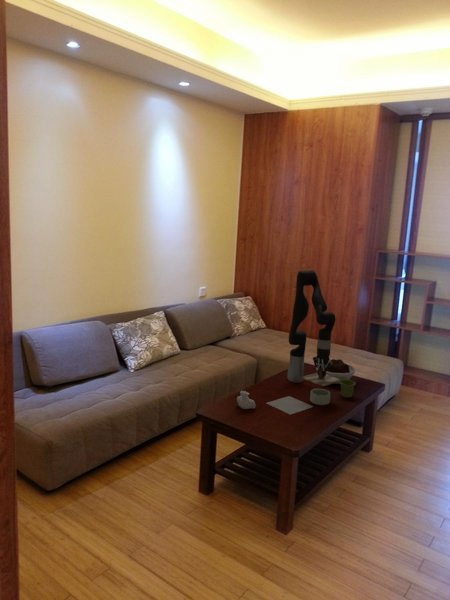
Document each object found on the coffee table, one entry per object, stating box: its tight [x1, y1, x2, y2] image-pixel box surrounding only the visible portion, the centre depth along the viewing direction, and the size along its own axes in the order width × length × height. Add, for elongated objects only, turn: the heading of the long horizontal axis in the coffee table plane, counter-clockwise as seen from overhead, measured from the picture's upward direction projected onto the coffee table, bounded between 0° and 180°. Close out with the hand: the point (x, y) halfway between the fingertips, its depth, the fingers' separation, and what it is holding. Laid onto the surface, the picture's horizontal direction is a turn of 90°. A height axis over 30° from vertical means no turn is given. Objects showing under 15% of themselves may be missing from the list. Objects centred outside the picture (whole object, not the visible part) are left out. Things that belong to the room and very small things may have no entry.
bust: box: [236, 390, 256, 410], centre depth 269 cm, size 12×8×11 cm
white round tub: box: [315, 358, 356, 385], centre depth 317 cm, size 25×25×15 cm
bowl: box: [309, 388, 331, 406], centre depth 282 cm, size 11×11×6 cm
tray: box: [266, 395, 314, 415], centre depth 275 cm, size 19×19×1 cm
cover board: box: [302, 367, 341, 387], centre depth 279 cm, size 16×16×7 cm
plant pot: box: [339, 379, 356, 399], centre depth 292 cm, size 9×9×9 cm
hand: (321, 375), depth 279 cm, fingers closed on cover board, 2 cm apart
